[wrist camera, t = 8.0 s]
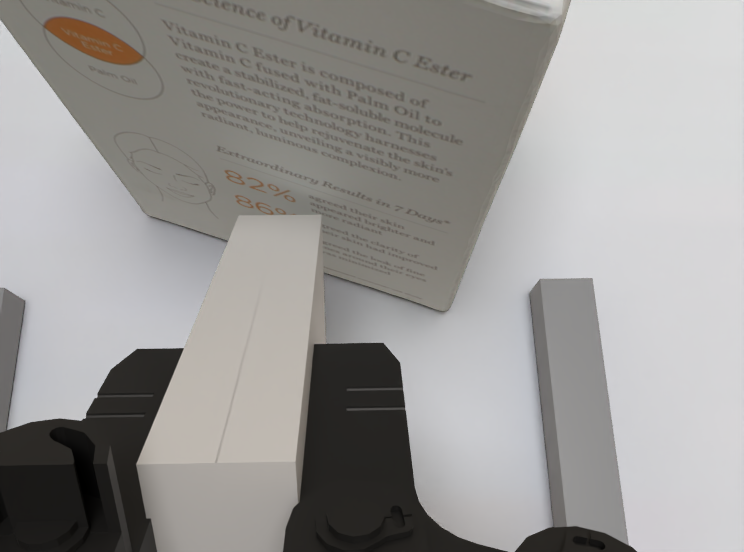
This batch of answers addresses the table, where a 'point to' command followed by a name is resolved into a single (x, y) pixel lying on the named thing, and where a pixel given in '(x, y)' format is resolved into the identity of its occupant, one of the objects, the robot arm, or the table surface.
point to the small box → (307, 115)
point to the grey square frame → (557, 392)
